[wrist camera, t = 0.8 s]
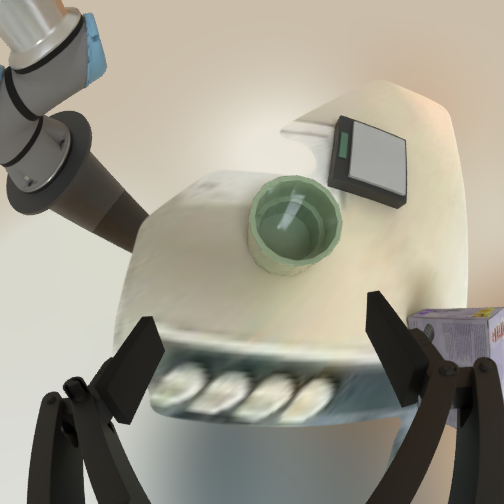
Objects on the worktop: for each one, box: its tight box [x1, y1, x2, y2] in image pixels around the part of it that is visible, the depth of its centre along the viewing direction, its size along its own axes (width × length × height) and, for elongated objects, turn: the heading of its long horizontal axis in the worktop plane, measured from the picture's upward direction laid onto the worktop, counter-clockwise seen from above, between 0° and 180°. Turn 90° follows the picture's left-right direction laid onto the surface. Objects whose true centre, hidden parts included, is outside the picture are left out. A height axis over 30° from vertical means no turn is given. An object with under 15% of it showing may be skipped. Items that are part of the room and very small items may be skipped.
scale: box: [328, 115, 407, 209], centre depth 41 cm, size 13×13×4 cm
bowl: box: [247, 175, 343, 276], centre depth 35 cm, size 10×10×10 cm
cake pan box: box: [407, 307, 504, 429], centre depth 28 cm, size 19×5×18 cm, turn 14°
